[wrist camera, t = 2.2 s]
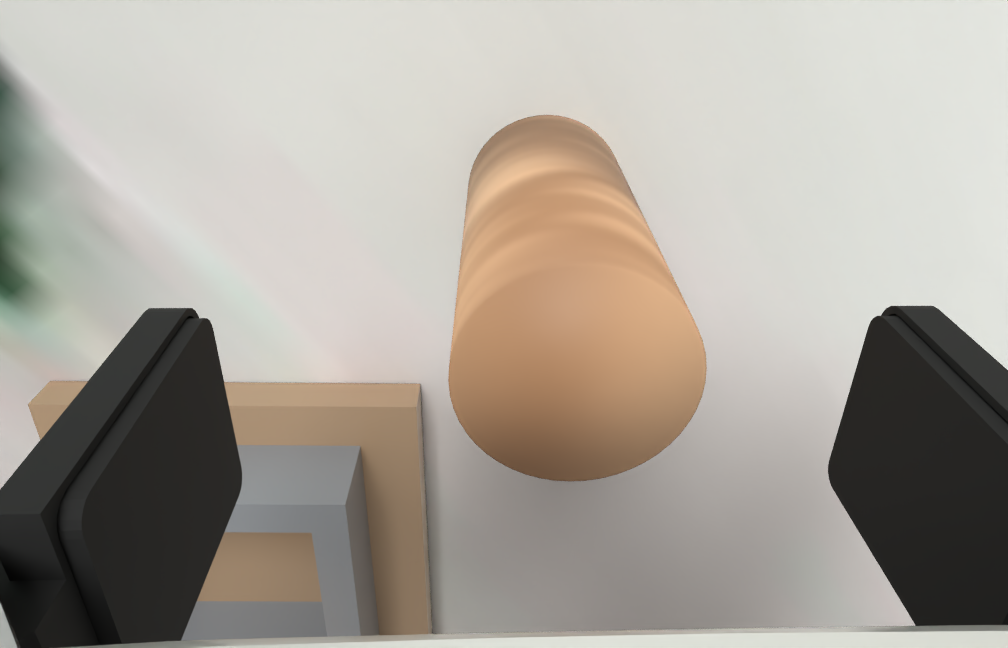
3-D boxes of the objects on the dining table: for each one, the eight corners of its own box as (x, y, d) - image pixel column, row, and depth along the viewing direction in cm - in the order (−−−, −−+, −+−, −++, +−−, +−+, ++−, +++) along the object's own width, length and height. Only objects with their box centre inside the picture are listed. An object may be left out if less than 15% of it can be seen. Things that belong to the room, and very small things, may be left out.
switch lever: (628, 116, 19) (725, 265, 11) (614, 262, 20) (688, 482, 13) (467, 114, 18) (444, 262, 11) (468, 261, 20) (451, 480, 13)
